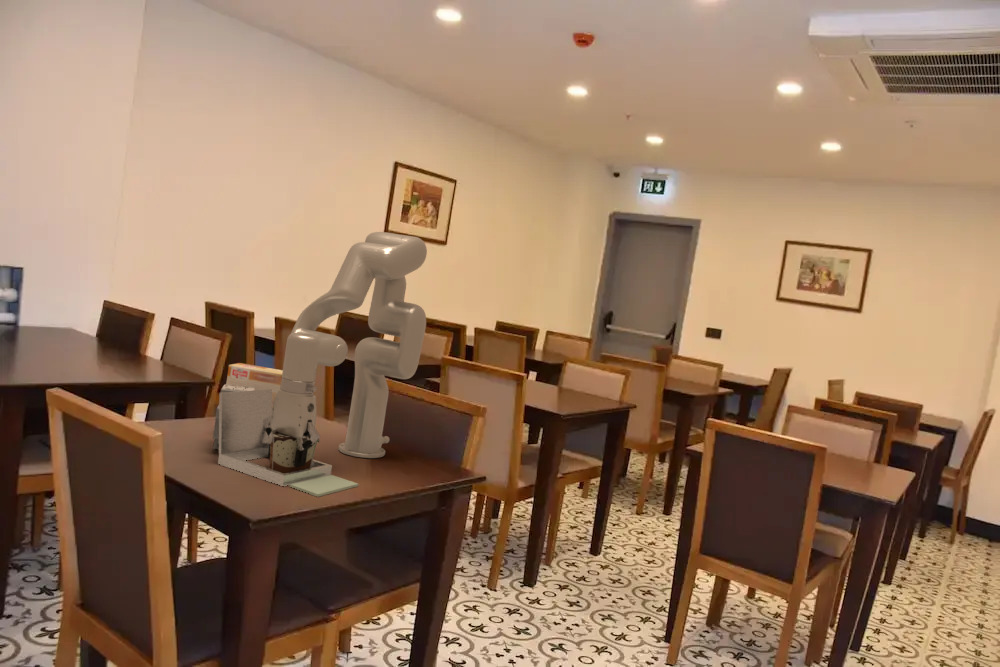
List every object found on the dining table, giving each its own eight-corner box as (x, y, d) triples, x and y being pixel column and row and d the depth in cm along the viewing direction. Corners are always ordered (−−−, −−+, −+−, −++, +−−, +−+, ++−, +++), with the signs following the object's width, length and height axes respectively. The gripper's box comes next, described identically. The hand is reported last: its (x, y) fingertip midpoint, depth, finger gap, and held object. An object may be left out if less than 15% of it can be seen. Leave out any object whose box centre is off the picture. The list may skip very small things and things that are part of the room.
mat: (331, 477, 177) (331, 474, 177) (358, 486, 173) (358, 483, 173) (289, 487, 164) (289, 484, 164) (317, 496, 161) (318, 494, 161)
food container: (302, 468, 181) (307, 427, 180) (314, 475, 176) (320, 433, 176) (253, 470, 172) (259, 428, 172) (265, 478, 168) (271, 434, 167)
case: (260, 452, 188) (269, 388, 187) (330, 475, 178) (340, 408, 177) (209, 461, 174) (219, 392, 173) (282, 486, 164) (293, 413, 163)
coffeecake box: (283, 442, 202) (293, 371, 201) (272, 447, 195) (282, 374, 194) (230, 432, 204) (240, 362, 202) (217, 437, 196) (228, 364, 195)
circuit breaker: (209, 455, 179) (218, 393, 178) (216, 441, 192) (224, 384, 191) (242, 458, 181) (251, 397, 180) (247, 444, 194) (255, 387, 193)
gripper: (337, 393, 172) (326, 468, 174) (280, 378, 180) (270, 450, 181) (315, 395, 166) (303, 473, 167) (257, 379, 173) (246, 454, 175)
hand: (286, 461), depth 174 cm, fingers open, 7 cm apart
